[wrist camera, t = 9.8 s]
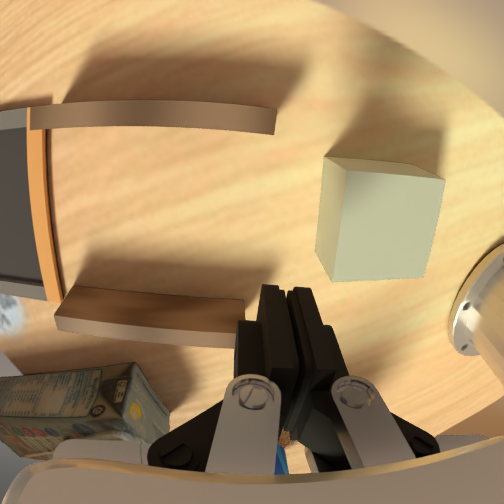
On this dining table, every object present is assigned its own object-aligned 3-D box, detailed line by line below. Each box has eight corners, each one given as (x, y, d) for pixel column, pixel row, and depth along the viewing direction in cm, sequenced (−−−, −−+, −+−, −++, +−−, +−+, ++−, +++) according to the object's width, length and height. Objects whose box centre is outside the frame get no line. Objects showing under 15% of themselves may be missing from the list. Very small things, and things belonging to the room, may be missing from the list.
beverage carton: (175, 414, 27) (170, 473, 21) (34, 419, 28) (18, 462, 22) (137, 357, 24) (121, 424, 18) (-6, 372, 24) (-30, 416, 19)
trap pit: (47, 105, 15) (42, 105, 14) (64, 298, 21) (61, 303, 20) (-37, 118, 14) (-42, 120, 13) (-13, 286, 20) (-17, 290, 19)
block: (409, 163, 18) (445, 179, 15) (395, 248, 21) (423, 277, 18) (322, 155, 18) (346, 170, 14) (313, 249, 21) (331, 282, 17)
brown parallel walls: (267, 107, 16) (277, 109, 13) (241, 314, 22) (244, 349, 19) (61, 103, 15) (30, 107, 12) (75, 300, 21) (57, 330, 18)
